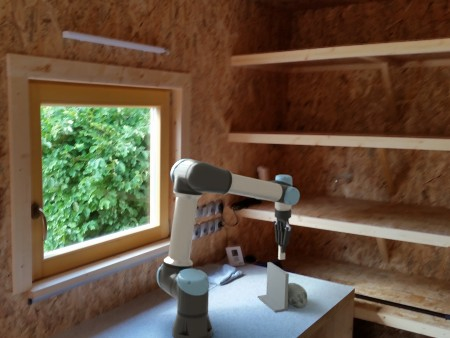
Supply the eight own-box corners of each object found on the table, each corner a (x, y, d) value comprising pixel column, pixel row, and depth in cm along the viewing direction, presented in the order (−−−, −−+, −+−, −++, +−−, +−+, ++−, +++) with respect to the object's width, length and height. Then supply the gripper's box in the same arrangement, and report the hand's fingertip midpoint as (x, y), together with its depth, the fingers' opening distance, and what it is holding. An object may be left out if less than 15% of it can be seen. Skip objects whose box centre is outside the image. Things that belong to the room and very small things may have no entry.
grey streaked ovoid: (314, 302, 197) (303, 281, 197) (295, 313, 195) (284, 292, 196) (305, 297, 210) (295, 277, 211) (287, 307, 209) (277, 288, 209)
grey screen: (275, 312, 194) (276, 275, 192) (257, 297, 209) (258, 263, 206) (287, 310, 196) (288, 273, 194) (269, 295, 211) (270, 262, 209)
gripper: (297, 211, 206) (296, 262, 209) (283, 205, 218) (281, 253, 221) (283, 212, 203) (281, 264, 206) (268, 206, 215) (267, 255, 218)
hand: (281, 258), depth 213 cm, fingers closed
